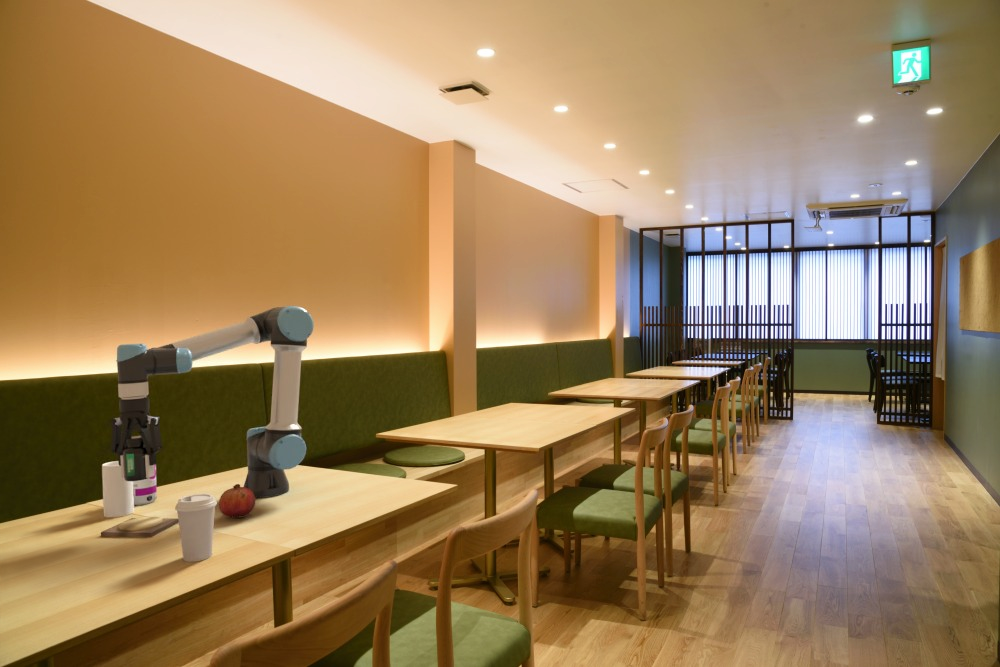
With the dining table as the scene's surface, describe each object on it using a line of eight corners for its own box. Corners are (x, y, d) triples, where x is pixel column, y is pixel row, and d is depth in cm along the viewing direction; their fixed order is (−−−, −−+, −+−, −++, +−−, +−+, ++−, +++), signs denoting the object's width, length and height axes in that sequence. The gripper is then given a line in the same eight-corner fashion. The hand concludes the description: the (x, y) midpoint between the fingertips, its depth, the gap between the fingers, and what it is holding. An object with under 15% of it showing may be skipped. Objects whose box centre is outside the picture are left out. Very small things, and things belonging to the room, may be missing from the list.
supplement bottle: (132, 482, 180) (130, 440, 180) (119, 480, 184) (117, 438, 184) (156, 477, 186) (154, 435, 186) (143, 474, 190) (141, 434, 189)
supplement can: (162, 498, 219) (160, 455, 219) (146, 505, 211) (145, 460, 211) (139, 498, 220) (138, 455, 220) (123, 505, 212) (121, 460, 212)
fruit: (261, 516, 195) (260, 484, 195) (229, 524, 188) (228, 490, 188) (245, 510, 203) (244, 478, 202) (213, 518, 195) (212, 485, 195)
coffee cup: (185, 551, 166) (184, 493, 166) (223, 549, 167) (222, 491, 167) (170, 565, 157) (168, 503, 156) (210, 562, 157) (208, 502, 157)
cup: (139, 511, 204) (138, 461, 204) (114, 518, 197) (113, 466, 197) (122, 508, 208) (121, 459, 208) (97, 515, 200) (96, 464, 200)
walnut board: (179, 522, 191) (178, 515, 191) (151, 536, 178) (150, 529, 178) (132, 522, 193) (131, 515, 193) (100, 536, 180) (100, 529, 180)
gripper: (174, 394, 187) (178, 473, 188) (111, 396, 189) (115, 473, 190) (158, 398, 180) (162, 479, 180) (92, 399, 182) (96, 480, 182)
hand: (138, 476), depth 185 cm, fingers closed on supplement bottle, 7 cm apart
